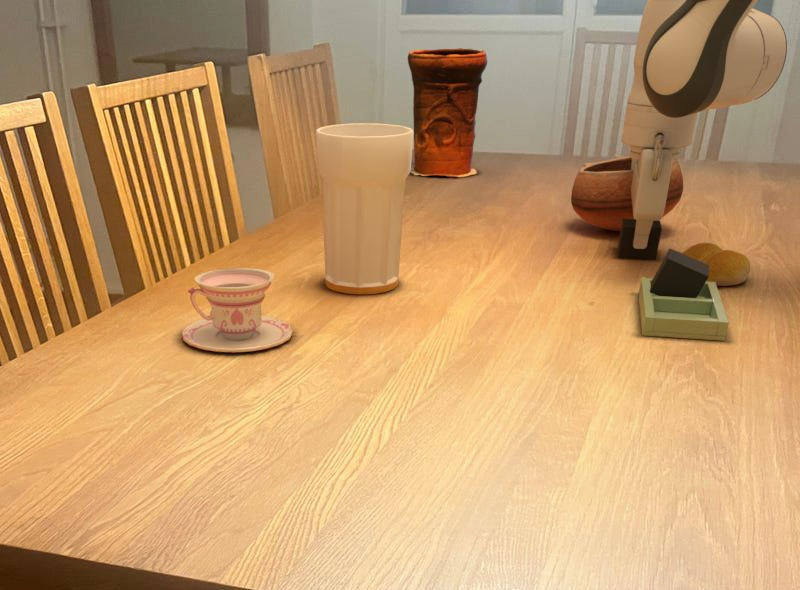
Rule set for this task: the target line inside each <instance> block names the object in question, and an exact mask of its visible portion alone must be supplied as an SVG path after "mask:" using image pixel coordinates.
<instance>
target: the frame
mask: <svg viewBox="0 0 800 590" xmlns="http://www.w3.org/2000/svg"><path fill="white" fill-rule="evenodd" d="M653 278H654V277H641V278H640V283H639V289H638V295H637V296H638V305H639V316H640V325H641V326H640V327H641V335H642V336H646V337H660V338H661V337H662V338H676V339H689V340H691V339H692V340H704V341H721V342H725V341H726V336H727V332H728V329H729V325H730V322H729V318H728V315H727V313H726V309H725V306H724V304H723V300H722V298H721V295H720V292H719V288H718V286H716V283H715V282H707V281H706V282H705V284H704V286H703V287H702V289H701V291H700V293H699V294H698V296H697V298H683V297H667V296H658V295H656V294H653V293H651V292H650V288H651V283H652V280H653Z"/></svg>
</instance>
